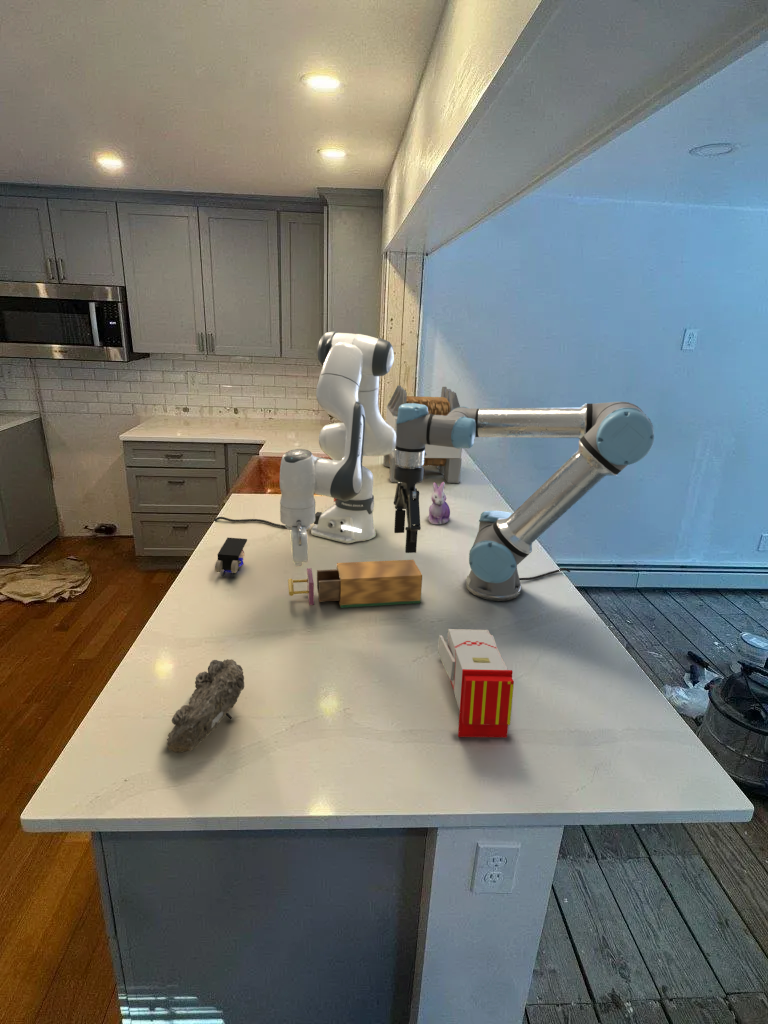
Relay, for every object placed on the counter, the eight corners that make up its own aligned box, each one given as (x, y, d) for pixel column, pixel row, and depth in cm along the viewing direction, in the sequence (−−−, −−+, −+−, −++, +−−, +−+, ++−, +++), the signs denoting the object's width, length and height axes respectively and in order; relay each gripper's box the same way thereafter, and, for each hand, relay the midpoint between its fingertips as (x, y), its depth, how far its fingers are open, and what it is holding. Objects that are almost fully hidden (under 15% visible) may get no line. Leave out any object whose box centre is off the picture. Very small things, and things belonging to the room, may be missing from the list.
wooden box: (340, 607, 149) (340, 579, 146) (336, 590, 158) (336, 562, 156) (420, 603, 153) (422, 575, 151) (411, 586, 163) (413, 559, 160)
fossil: (192, 660, 117) (244, 628, 112) (224, 691, 120) (276, 661, 115) (142, 746, 98) (202, 712, 93) (182, 779, 101) (242, 748, 96)
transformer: (382, 463, 289) (386, 382, 275) (445, 464, 293) (451, 384, 279) (390, 482, 257) (394, 392, 243) (460, 483, 261) (468, 394, 247)
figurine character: (238, 584, 162) (249, 557, 175) (236, 562, 158) (247, 536, 172) (215, 584, 161) (227, 556, 175) (212, 561, 158) (225, 535, 171)
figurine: (435, 526, 207) (438, 487, 202) (421, 517, 216) (423, 479, 211) (456, 523, 212) (460, 485, 207) (441, 514, 220) (444, 477, 215)
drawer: (289, 606, 147) (288, 584, 145) (288, 590, 155) (287, 569, 153) (386, 600, 152) (387, 579, 150) (380, 585, 160) (381, 564, 158)
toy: (488, 613, 130) (523, 677, 101) (484, 667, 133) (517, 744, 104) (435, 612, 130) (455, 676, 101) (432, 666, 133) (451, 743, 103)
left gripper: (313, 528, 134) (313, 581, 139) (307, 501, 153) (307, 548, 158) (286, 529, 133) (287, 582, 138) (284, 501, 152) (284, 549, 157)
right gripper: (436, 479, 134) (430, 560, 141) (412, 453, 157) (407, 524, 164) (406, 479, 132) (401, 562, 140) (385, 453, 155) (382, 525, 163)
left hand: (298, 563), depth 148 cm, fingers closed
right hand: (404, 542), depth 152 cm, fingers open, 13 cm apart
